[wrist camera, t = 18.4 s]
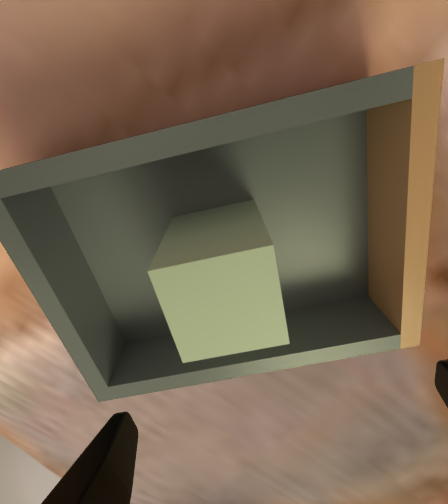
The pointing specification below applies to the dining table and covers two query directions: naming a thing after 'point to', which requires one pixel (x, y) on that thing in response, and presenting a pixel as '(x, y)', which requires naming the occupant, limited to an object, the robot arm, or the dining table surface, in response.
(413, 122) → the low planter box
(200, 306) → the sage block
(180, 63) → the dining table surface
